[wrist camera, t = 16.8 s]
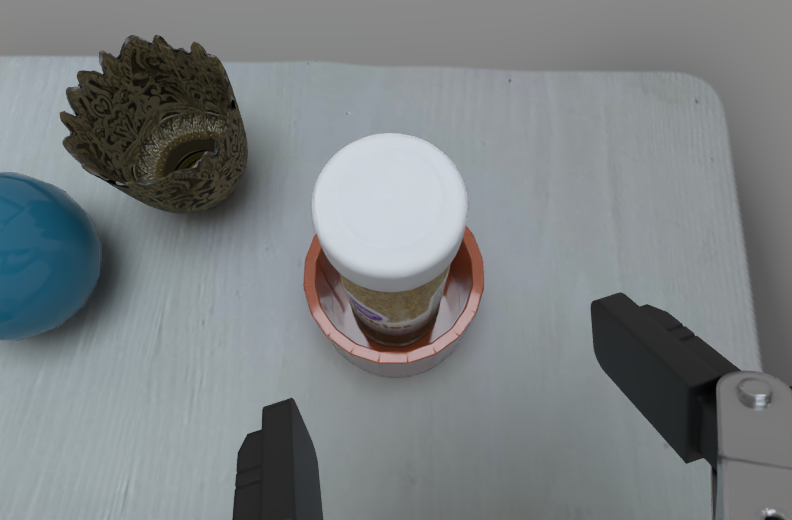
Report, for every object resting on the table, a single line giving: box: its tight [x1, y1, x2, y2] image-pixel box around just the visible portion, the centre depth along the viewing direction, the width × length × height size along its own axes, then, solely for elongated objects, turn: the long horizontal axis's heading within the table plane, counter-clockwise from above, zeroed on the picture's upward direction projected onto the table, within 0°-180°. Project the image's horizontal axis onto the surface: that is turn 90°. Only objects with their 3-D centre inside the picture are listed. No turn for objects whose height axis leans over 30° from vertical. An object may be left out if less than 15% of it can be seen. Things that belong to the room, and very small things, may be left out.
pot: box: [304, 226, 484, 378], centre depth 26 cm, size 8×8×6 cm
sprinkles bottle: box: [311, 133, 468, 347], centre depth 21 cm, size 5×5×13 cm
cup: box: [60, 35, 248, 213], centre depth 27 cm, size 8×7×8 cm
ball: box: [0, 172, 103, 341], centre depth 25 cm, size 8×8×8 cm
